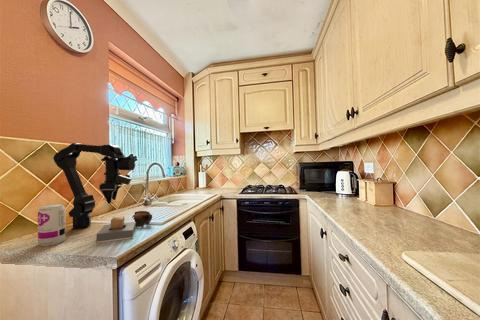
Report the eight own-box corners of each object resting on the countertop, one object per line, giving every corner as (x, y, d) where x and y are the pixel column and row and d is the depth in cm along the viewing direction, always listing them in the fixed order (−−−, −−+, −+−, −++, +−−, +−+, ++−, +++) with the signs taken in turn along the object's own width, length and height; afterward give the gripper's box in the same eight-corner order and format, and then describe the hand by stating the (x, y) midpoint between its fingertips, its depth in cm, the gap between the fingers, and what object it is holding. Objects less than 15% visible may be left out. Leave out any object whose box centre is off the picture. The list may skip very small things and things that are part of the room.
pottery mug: (125, 228, 103) (128, 212, 107) (140, 231, 111) (142, 216, 115) (144, 224, 100) (147, 207, 104) (158, 227, 107) (160, 211, 111)
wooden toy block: (110, 236, 89) (110, 220, 89) (113, 233, 94) (112, 217, 94) (122, 235, 91) (122, 219, 91) (124, 231, 95) (124, 216, 95)
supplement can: (46, 248, 80) (45, 208, 80) (33, 245, 82) (33, 207, 82) (70, 240, 87) (69, 204, 87) (57, 238, 90) (57, 203, 90)
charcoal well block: (96, 242, 84) (96, 234, 84) (104, 232, 96) (104, 225, 96) (132, 238, 88) (132, 229, 88) (135, 228, 101) (135, 221, 101)
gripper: (126, 171, 98) (126, 204, 98) (133, 169, 115) (132, 197, 115) (99, 171, 94) (98, 206, 94) (109, 169, 112) (109, 198, 112)
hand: (111, 201), depth 104 cm, fingers open, 9 cm apart
